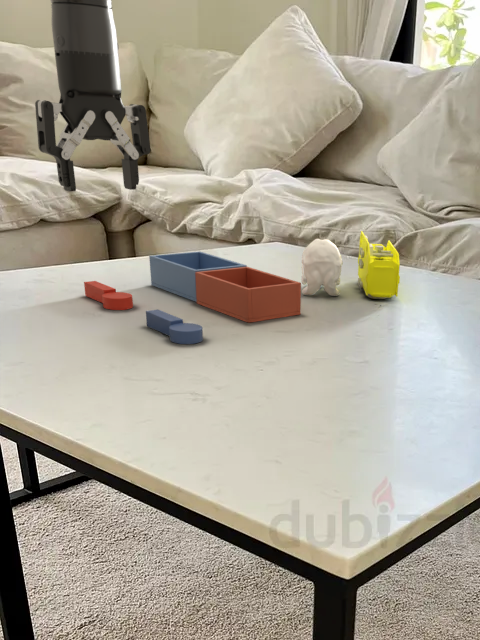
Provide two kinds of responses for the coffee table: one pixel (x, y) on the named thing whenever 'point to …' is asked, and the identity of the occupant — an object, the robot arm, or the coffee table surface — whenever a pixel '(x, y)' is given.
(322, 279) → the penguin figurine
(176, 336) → the blue spoon
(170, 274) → the blue bin
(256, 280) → the red bin
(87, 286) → the red spoon
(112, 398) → the coffee table surface
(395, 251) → the yellow toy chassis
